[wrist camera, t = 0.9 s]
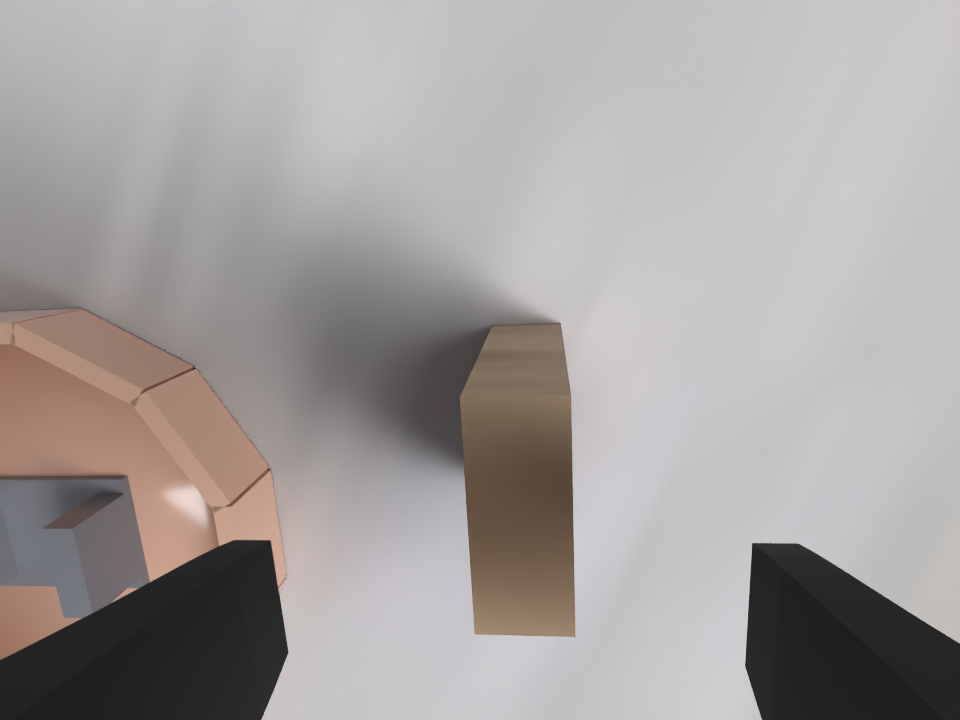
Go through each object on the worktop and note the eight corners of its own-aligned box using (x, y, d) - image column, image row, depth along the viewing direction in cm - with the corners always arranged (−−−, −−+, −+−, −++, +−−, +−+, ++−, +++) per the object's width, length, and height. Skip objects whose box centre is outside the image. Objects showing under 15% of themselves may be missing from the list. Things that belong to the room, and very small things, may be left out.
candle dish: (306, 709, 22) (269, 786, 19) (-59, 693, 23) (-144, 761, 21) (245, 301, 18) (189, 319, 15) (-179, 318, 20) (-303, 336, 17)
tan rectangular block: (563, 481, 18) (575, 636, 12) (499, 481, 19) (474, 634, 12) (560, 323, 17) (570, 394, 11) (492, 325, 18) (459, 397, 11)
